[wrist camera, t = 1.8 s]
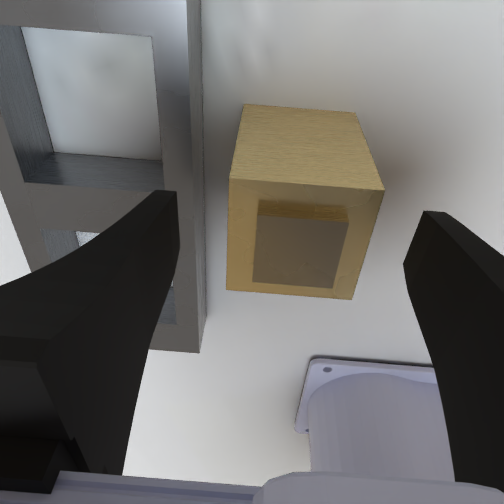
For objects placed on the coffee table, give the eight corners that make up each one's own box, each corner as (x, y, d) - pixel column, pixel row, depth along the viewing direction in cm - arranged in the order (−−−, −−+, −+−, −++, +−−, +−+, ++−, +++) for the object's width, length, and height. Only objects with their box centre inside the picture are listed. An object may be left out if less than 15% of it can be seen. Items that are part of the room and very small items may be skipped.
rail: (199, -56, 12) (184, -52, 10) (206, 316, 22) (199, 353, 20) (-41, -74, 12) (-100, -73, 10) (76, 306, 22) (58, 341, 20)
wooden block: (354, 112, 15) (388, 198, 10) (334, 206, 17) (353, 309, 13) (244, 103, 15) (227, 185, 10) (239, 198, 17) (224, 298, 13)
